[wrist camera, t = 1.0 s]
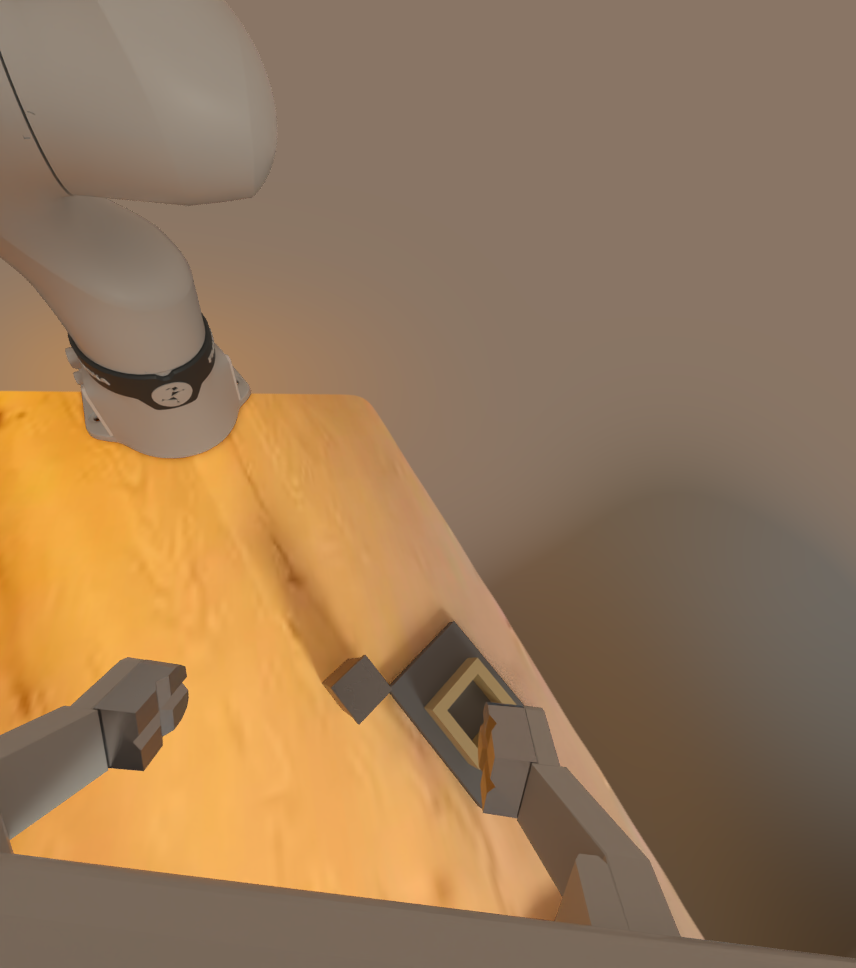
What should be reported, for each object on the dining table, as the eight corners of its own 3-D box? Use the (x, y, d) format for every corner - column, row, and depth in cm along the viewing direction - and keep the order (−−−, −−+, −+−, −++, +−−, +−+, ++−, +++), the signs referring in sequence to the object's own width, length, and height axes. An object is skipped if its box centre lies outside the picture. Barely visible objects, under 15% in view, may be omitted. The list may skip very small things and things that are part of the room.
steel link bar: (320, 683, 44) (330, 687, 34) (347, 657, 46) (365, 654, 36) (341, 711, 44) (358, 724, 33) (368, 684, 45) (392, 689, 35)
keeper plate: (386, 688, 46) (395, 690, 42) (449, 622, 51) (463, 618, 47) (478, 805, 44) (496, 819, 40) (534, 724, 49) (555, 729, 45)
